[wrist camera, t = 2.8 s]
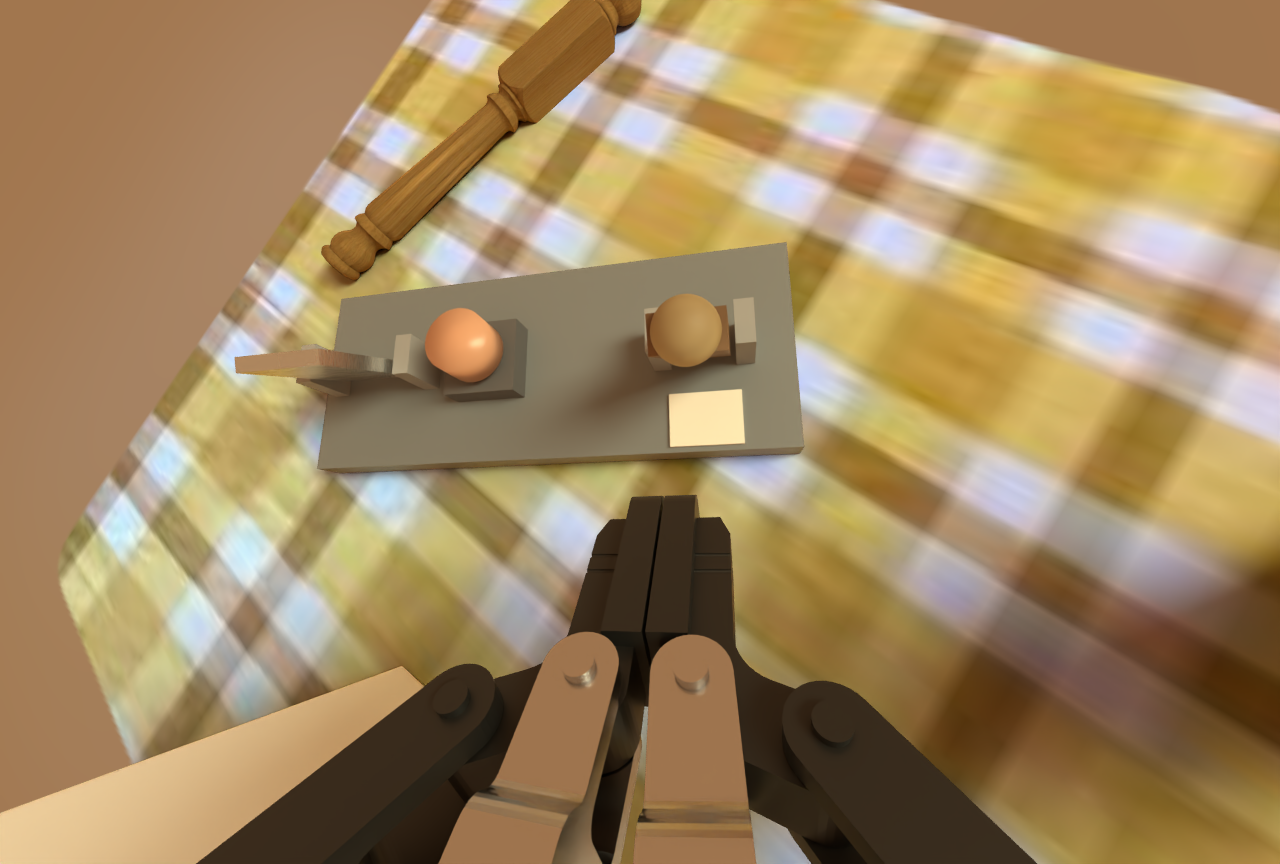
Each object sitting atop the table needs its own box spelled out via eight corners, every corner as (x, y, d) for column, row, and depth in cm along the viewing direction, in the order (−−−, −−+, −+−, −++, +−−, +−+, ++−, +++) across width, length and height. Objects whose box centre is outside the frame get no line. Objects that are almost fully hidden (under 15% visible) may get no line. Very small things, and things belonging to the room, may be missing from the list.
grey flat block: (414, 375, 30) (319, 364, 23) (346, 381, 31) (236, 373, 24) (413, 362, 30) (318, 348, 23) (345, 369, 31) (234, 357, 24)
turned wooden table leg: (310, 241, 34) (617, -44, 34) (344, 265, 37) (627, 2, 37) (329, 267, 34) (645, -26, 33) (362, 289, 36) (652, 20, 36)
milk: (403, 664, 29) (-489, 976, 8) (475, 731, 27) (-431, 1362, 6) (344, 754, 29) (-772, 1338, 8) (413, 829, 27) (-798, 1872, 6)
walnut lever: (730, 365, 26) (729, 363, 16) (676, 369, 27) (641, 370, 17) (728, 316, 26) (724, 283, 16) (673, 322, 27) (635, 293, 16)
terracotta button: (501, 379, 27) (483, 367, 25) (444, 384, 28) (421, 373, 26) (505, 320, 28) (487, 304, 26) (449, 326, 28) (428, 311, 27)
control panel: (799, 453, 27) (812, 434, 22) (342, 473, 33) (273, 461, 28) (783, 261, 29) (791, 207, 25) (363, 312, 35) (304, 276, 31)
